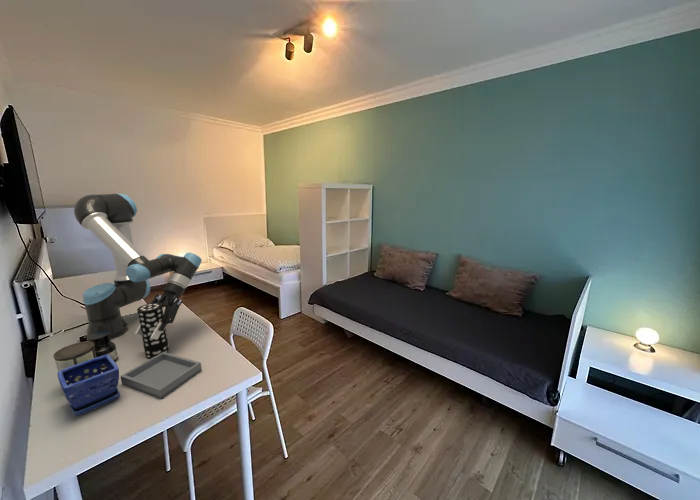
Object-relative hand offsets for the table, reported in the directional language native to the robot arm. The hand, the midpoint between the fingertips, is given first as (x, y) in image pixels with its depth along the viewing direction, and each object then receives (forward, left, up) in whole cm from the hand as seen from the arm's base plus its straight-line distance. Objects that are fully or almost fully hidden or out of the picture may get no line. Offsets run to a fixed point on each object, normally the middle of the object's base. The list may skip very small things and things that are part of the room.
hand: (146, 336), depth 116 cm
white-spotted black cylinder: (0, +3, -9) cm, 9 cm away
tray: (+17, -7, -10) cm, 21 cm away
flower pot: (+7, -23, -10) cm, 26 cm away
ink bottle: (-14, -9, -10) cm, 19 cm away
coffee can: (-6, -20, -10) cm, 23 cm away
